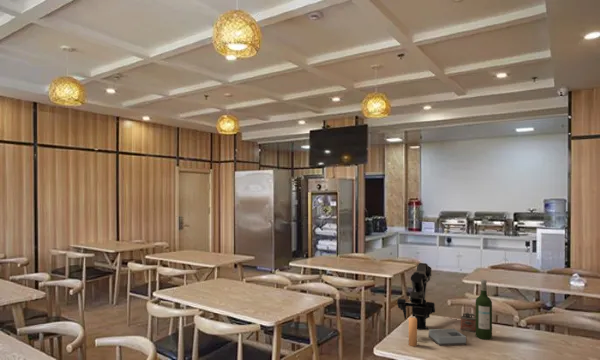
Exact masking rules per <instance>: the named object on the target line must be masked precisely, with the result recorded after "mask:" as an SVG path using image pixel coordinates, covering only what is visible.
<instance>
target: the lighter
mask: <svg viewBox="0 0 600 360" xmlns="http://www.w3.org/2000/svg"><path fill="white" fill-rule="evenodd" d="M460 331H462V332H467V333H472V334H473V333H474V334H476V313H472V312H468V311H467V312H464V311H463V312H462V315H460Z"/></svg>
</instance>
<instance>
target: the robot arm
mask: <svg viewBox="0 0 600 360" xmlns="http://www.w3.org/2000/svg"><path fill="white" fill-rule="evenodd" d="M432 273H433V271H432V267H431V266H429V264H428V263H424V262H419V263H418V265H417V266H416V270H415V271H414V272H413V273H412V274H411V276H410V281H411V286H412V288H411V289H412V290H411V291H410V294H409V295H410V296H409V301H406V298H398V299H397V301H396V304H397V307H398V308H399V309H400V311H402V313H403V317H404V320H407V319H406V318H407V307H411V313H412V317H414V318H417V330H429V328H428V326H427V325H426V324H427V319H428V318H429V319H430V317H431V316H430V315H431V314H434V313H436V304H435V302H432V301H427V300H426V297H427V295H426V294H427V287H428V283H429V281H430V280H431V277H432Z"/></svg>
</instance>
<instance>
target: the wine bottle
mask: <svg viewBox="0 0 600 360" xmlns="http://www.w3.org/2000/svg"><path fill="white" fill-rule="evenodd" d="M487 282H488V281H487V280H486V279H480V295H479V296H477V297H476V299H475V318H476V333H475V337H476V338H477V339H480V340H486V341H490V340H492V338H493V301H492V299H491V298H490V297H489V295H488V291H487V290H488V288H487V287H488V286H487V284H488V283H487Z"/></svg>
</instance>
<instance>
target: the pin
mask: <svg viewBox="0 0 600 360" xmlns="http://www.w3.org/2000/svg"><path fill="white" fill-rule="evenodd" d="M408 346H409V347H417V346H418V329H417V318H415V317H413V316H412V317H408Z"/></svg>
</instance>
